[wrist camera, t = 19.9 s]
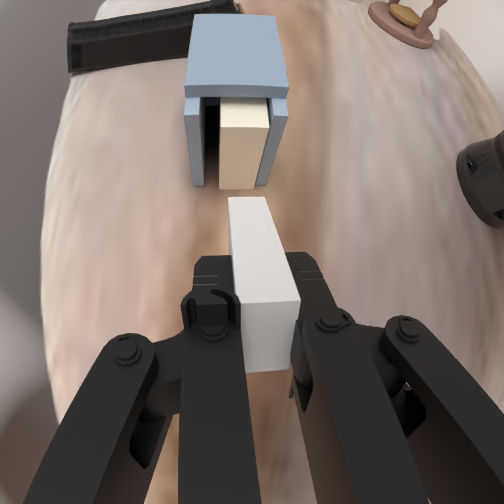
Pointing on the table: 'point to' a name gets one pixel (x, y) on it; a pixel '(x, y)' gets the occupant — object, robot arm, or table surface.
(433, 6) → the hourglass
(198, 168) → the housing
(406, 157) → the table surface
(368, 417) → the robot arm
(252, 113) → the tile
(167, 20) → the magazine
